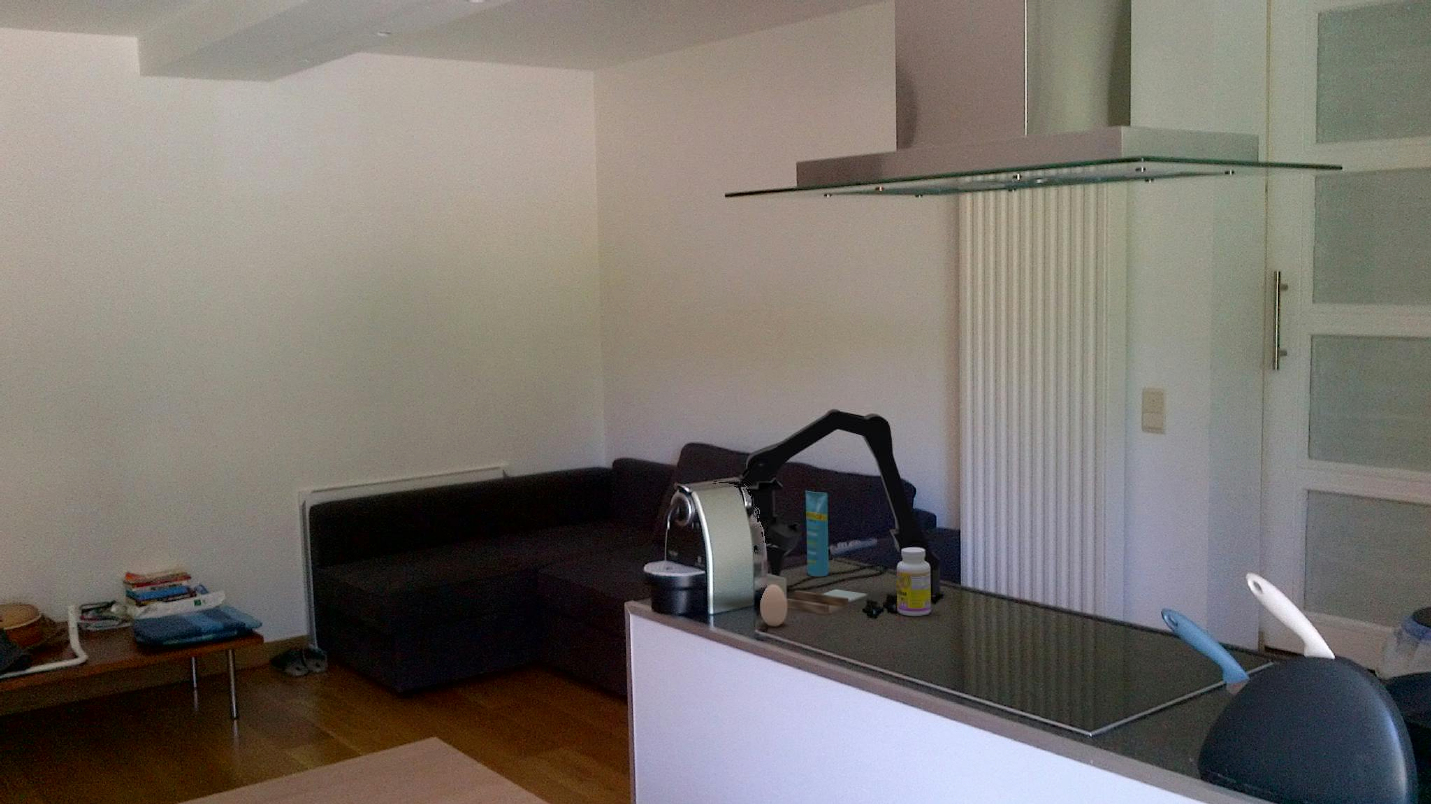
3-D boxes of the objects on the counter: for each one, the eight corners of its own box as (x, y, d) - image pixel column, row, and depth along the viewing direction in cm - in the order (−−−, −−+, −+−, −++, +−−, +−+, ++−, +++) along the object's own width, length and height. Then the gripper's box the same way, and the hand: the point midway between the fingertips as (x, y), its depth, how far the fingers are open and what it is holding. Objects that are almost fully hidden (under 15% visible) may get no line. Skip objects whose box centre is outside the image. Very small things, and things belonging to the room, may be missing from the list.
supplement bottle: (893, 609, 256) (892, 547, 255) (925, 607, 256) (924, 545, 255) (902, 617, 249) (901, 553, 248) (935, 616, 250) (934, 552, 249)
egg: (758, 623, 247) (757, 582, 247) (784, 622, 248) (783, 580, 248) (763, 630, 242) (762, 588, 241) (790, 628, 243) (789, 586, 242)
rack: (848, 607, 258) (848, 598, 258) (826, 616, 252) (826, 606, 252) (797, 599, 266) (796, 590, 266) (774, 607, 260) (774, 597, 260)
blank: (786, 601, 265) (786, 578, 265) (771, 604, 263) (771, 581, 262) (768, 596, 270) (768, 573, 269) (754, 599, 268) (753, 576, 267)
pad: (867, 596, 267) (866, 594, 267) (845, 604, 261) (845, 601, 261) (835, 592, 272) (835, 589, 272) (814, 599, 266) (814, 596, 266)
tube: (799, 574, 291) (797, 491, 289) (813, 570, 294) (811, 488, 292) (823, 578, 285) (821, 494, 284) (837, 575, 289) (836, 491, 287)
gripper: (764, 521, 253) (766, 598, 254) (818, 508, 267) (819, 580, 269) (721, 516, 260) (723, 591, 262) (776, 503, 275) (777, 574, 276)
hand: (762, 584), depth 267 cm, fingers open, 9 cm apart
